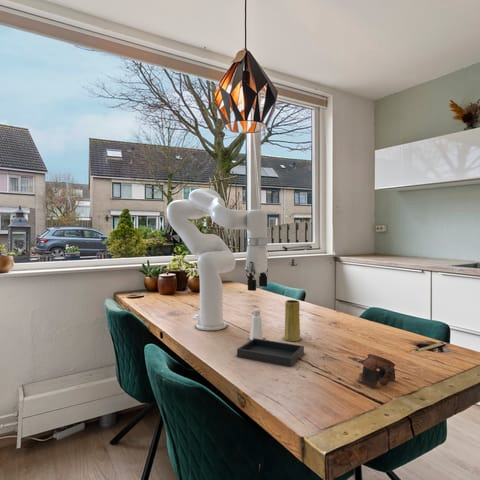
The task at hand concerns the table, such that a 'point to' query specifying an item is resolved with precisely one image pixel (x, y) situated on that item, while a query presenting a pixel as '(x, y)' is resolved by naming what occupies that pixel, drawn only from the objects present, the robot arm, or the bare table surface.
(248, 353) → the tray
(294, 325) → the vase
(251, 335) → the salt shaker
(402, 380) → the table surface
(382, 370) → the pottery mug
